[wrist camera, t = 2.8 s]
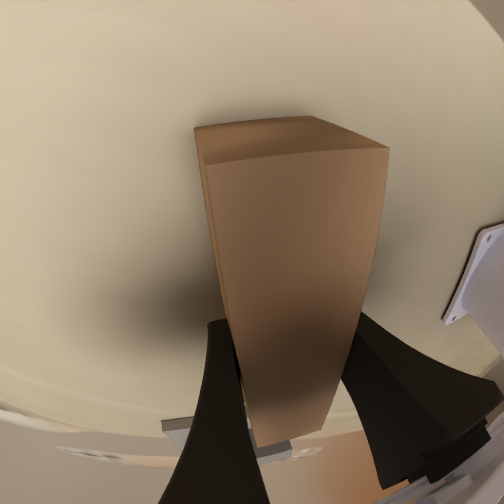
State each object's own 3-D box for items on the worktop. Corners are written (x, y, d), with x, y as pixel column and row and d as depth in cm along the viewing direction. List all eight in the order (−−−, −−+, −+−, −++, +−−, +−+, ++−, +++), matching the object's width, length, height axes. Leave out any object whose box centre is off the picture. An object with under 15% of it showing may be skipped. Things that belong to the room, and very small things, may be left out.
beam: (308, 115, 8) (389, 147, 5) (297, 373, 16) (321, 429, 13) (193, 127, 8) (205, 165, 4) (240, 387, 16) (257, 447, 12)
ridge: (294, 394, 17) (309, 435, 15) (290, 428, 21) (301, 459, 19) (161, 421, 16) (166, 463, 14) (188, 449, 20) (194, 481, 18)
